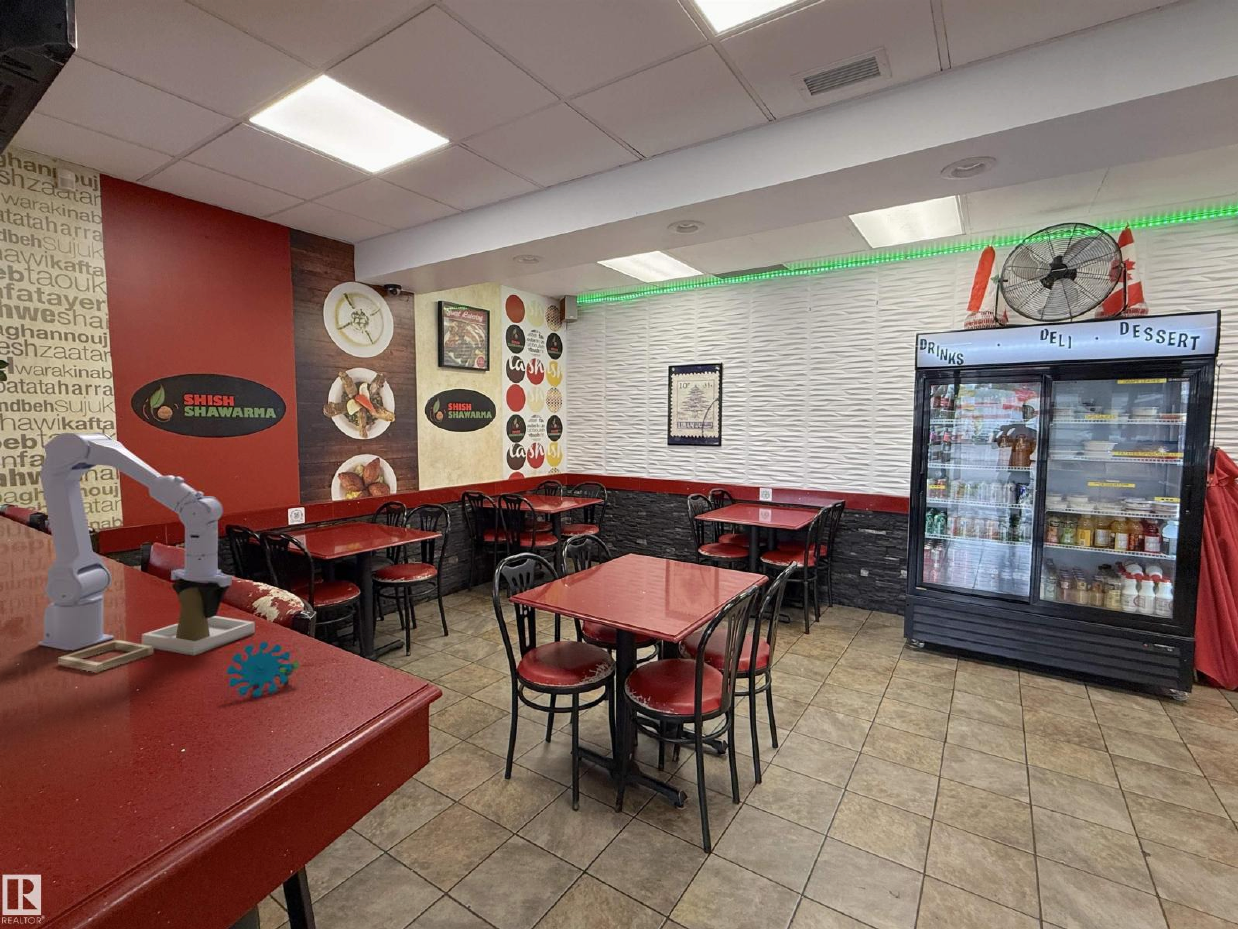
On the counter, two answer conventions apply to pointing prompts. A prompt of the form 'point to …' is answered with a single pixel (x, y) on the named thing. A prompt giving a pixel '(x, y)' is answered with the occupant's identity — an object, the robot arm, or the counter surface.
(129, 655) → the collar
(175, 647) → the tray
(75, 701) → the counter surface
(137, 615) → the counter surface
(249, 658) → the gear
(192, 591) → the cork
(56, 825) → the counter surface
